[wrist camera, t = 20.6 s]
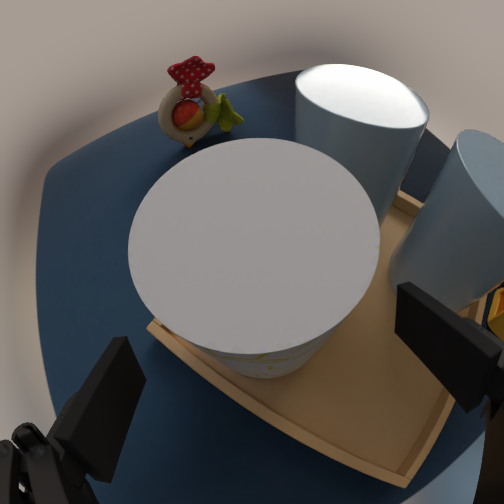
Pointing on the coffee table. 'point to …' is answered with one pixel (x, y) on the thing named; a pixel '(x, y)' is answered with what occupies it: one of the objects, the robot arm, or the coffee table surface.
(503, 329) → the toy figure
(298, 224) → the light grey cylinder
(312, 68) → the slate blue cylinder
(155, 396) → the coffee table surface
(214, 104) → the bird rattle
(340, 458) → the tray
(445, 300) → the grey-blue cylinder
